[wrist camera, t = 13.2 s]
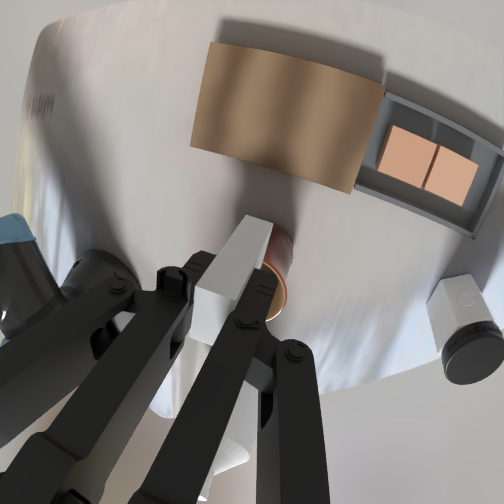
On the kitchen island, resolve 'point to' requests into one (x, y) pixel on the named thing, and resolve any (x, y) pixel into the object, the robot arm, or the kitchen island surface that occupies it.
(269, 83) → the board
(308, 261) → the kitchen island surface
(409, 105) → the tray
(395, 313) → the kitchen island surface
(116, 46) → the kitchen island surface
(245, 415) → the bottle
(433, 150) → the tile
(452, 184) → the tile
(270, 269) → the mug
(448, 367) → the jar
